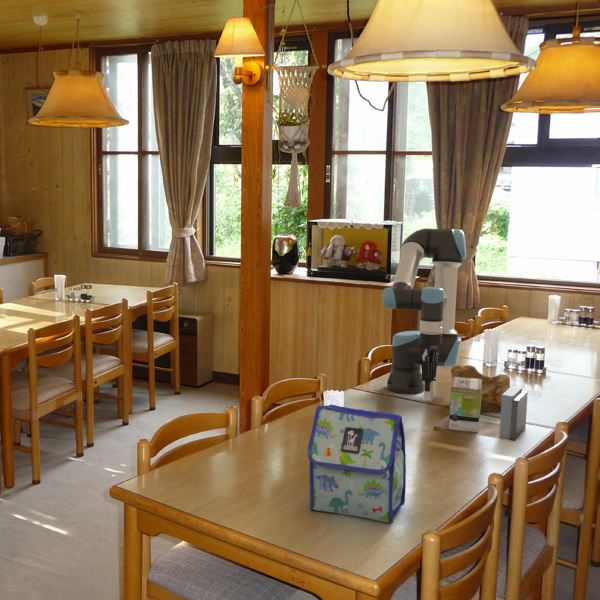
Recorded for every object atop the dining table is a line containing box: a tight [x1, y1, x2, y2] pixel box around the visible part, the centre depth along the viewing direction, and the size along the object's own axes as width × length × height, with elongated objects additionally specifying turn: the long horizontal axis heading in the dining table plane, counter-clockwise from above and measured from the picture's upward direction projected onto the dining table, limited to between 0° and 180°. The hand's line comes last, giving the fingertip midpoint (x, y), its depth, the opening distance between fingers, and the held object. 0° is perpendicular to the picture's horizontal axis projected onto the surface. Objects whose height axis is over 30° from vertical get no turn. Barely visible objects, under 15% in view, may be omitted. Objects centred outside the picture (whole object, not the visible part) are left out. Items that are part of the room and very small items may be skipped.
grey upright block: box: [499, 385, 523, 439], centre depth 240 cm, size 4×12×14 cm, turn 150°
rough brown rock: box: [450, 364, 511, 414], centre depth 268 cm, size 23×17×15 cm
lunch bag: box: [306, 403, 407, 524], centre depth 182 cm, size 22×17×26 cm
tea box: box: [448, 377, 482, 432], centre depth 248 cm, size 15×10×15 cm, turn 166°
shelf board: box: [433, 414, 527, 442], centre depth 247 cm, size 27×15×1 cm, turn 60°
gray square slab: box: [510, 389, 529, 441], centre depth 239 cm, size 2×13×13 cm, turn 150°
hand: (428, 399), depth 254 cm, fingers closed
